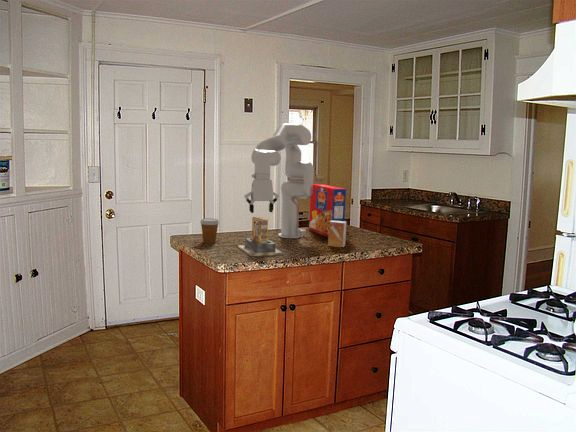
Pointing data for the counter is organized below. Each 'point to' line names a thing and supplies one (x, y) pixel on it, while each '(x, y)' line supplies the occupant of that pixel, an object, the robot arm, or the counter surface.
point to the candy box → (259, 230)
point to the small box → (337, 233)
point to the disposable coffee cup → (209, 230)
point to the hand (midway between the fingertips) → (261, 212)
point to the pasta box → (326, 207)
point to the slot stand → (259, 248)
